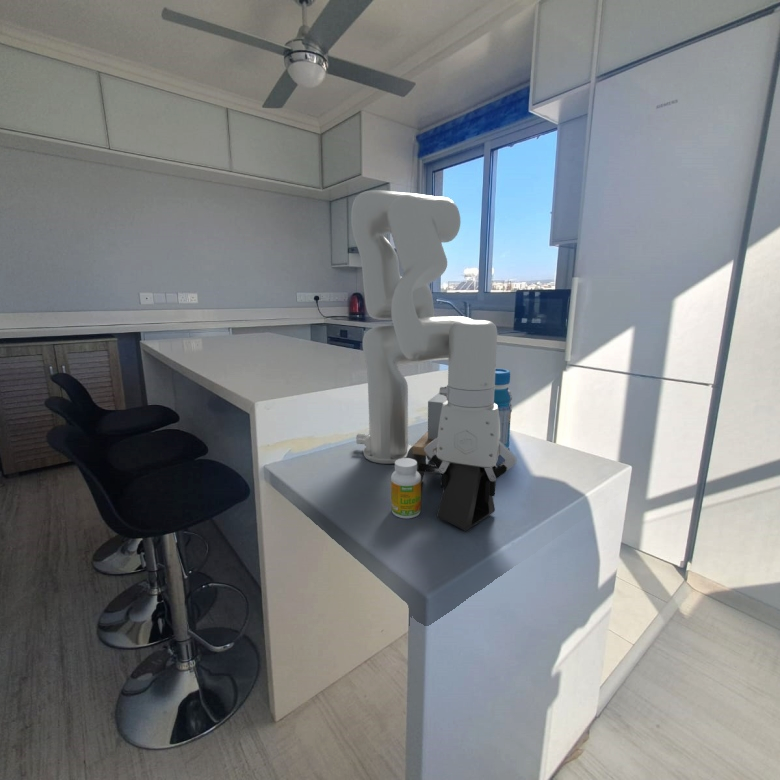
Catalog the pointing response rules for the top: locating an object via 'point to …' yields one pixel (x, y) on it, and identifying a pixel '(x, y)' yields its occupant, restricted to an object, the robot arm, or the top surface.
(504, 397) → the beverage bottle
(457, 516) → the phone stand
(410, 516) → the supplement bottle
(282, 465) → the top surface
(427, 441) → the trolley
